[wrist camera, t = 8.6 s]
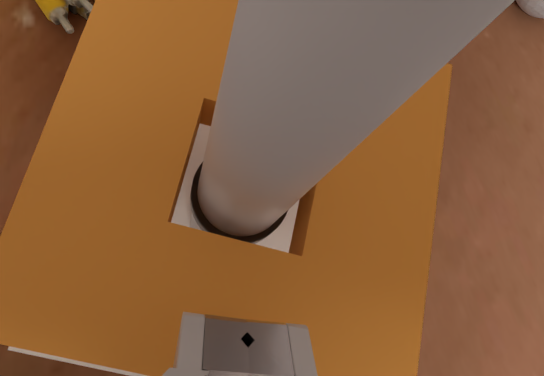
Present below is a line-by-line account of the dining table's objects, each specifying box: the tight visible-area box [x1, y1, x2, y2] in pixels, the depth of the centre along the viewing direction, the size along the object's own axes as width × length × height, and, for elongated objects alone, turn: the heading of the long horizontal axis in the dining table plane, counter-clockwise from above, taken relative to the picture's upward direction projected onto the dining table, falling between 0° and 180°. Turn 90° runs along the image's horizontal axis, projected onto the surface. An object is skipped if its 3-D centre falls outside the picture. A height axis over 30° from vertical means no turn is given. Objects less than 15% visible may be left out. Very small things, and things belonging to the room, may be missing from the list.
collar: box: [0, 0, 452, 376], centre depth 15 cm, size 12×12×2 cm
